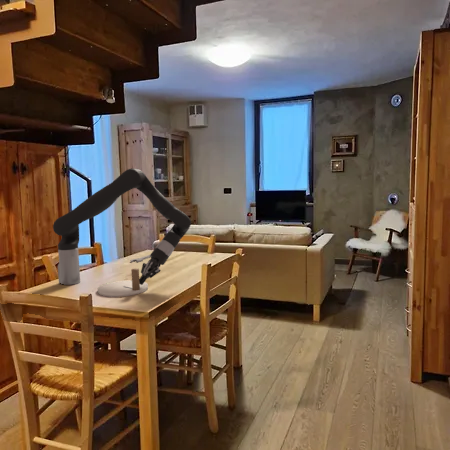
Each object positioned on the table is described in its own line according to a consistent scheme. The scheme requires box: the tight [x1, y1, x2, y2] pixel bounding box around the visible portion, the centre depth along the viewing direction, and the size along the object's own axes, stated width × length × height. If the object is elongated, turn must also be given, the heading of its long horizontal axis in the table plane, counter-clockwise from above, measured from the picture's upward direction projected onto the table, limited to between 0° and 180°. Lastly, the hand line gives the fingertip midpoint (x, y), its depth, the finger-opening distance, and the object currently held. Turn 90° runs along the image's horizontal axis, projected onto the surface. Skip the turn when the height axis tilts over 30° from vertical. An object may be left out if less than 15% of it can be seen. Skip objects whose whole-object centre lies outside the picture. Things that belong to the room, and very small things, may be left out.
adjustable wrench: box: [129, 254, 151, 263], centre depth 263 cm, size 25×6×2 cm, turn 153°
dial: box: [97, 267, 149, 298], centre depth 185 cm, size 22×22×10 cm
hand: (139, 283), depth 181 cm, fingers closed
